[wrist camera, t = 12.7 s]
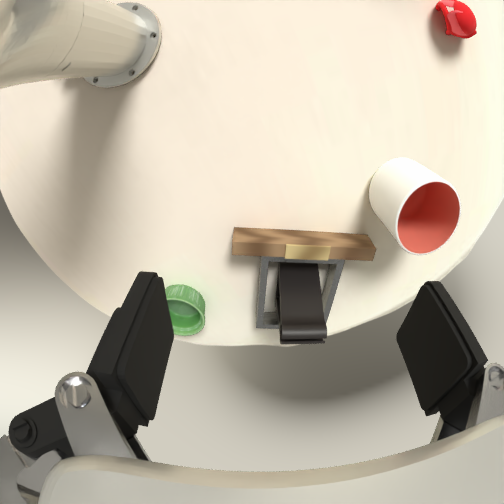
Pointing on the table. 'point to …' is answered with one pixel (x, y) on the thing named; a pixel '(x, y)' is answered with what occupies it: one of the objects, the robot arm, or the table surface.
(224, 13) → the table surface
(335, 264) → the frame
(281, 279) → the phone stand
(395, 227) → the cup
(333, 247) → the door edge rail
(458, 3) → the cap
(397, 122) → the table surface
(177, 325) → the ramekin
